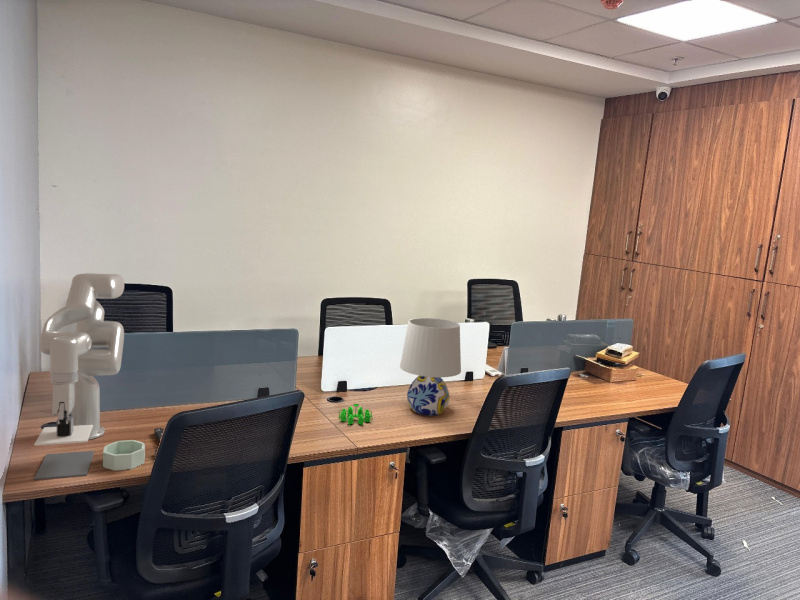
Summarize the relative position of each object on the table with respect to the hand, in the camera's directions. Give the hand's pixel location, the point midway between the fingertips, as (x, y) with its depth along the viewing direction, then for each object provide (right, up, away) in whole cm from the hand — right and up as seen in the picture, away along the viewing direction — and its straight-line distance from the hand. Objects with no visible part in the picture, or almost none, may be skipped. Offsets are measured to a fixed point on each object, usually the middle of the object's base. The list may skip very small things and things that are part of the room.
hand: (65, 432), depth 185 cm
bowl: (+15, -11, +7) cm, 20 cm away
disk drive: (+23, -9, +28) cm, 38 cm away
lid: (0, -1, 0) cm, 1 cm away
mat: (-1, -11, +2) cm, 11 cm away
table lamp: (+118, -8, +79) cm, 142 cm away
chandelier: (+87, -9, +60) cm, 106 cm away
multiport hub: (+27, -12, +11) cm, 32 cm away
